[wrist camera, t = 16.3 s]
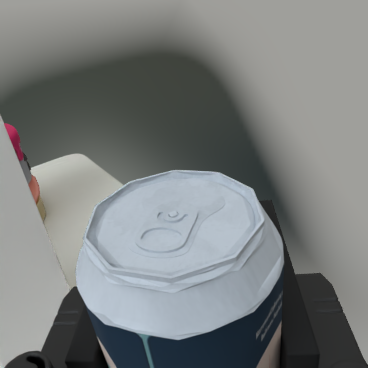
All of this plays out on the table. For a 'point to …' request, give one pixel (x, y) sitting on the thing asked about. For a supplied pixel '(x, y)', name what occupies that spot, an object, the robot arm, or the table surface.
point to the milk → (24, 263)
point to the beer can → (183, 274)
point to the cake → (26, 169)
